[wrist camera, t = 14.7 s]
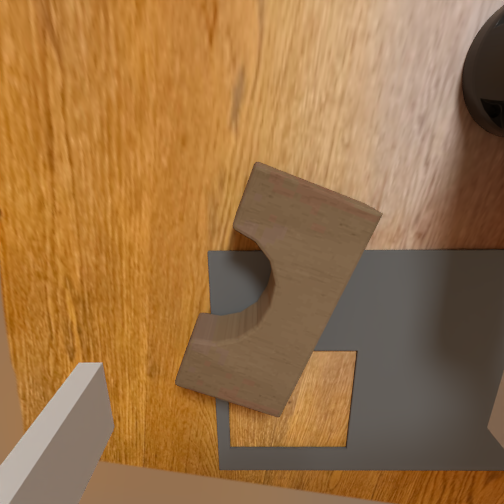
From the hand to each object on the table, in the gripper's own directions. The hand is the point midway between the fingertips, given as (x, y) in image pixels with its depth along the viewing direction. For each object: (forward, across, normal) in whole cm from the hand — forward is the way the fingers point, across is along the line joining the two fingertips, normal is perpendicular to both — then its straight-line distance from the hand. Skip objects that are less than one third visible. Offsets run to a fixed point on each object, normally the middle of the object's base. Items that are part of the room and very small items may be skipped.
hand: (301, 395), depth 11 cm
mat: (+35, +17, -27) cm, 47 cm away
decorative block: (+30, -5, -26) cm, 40 cm away
